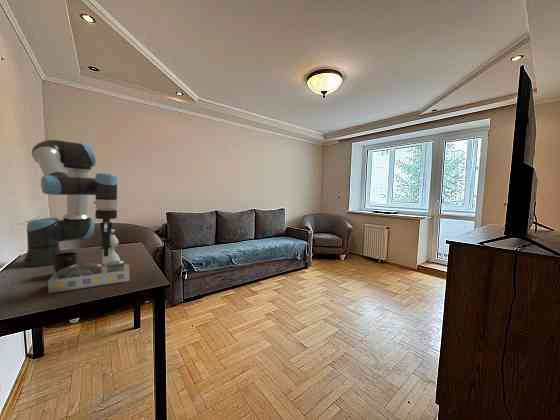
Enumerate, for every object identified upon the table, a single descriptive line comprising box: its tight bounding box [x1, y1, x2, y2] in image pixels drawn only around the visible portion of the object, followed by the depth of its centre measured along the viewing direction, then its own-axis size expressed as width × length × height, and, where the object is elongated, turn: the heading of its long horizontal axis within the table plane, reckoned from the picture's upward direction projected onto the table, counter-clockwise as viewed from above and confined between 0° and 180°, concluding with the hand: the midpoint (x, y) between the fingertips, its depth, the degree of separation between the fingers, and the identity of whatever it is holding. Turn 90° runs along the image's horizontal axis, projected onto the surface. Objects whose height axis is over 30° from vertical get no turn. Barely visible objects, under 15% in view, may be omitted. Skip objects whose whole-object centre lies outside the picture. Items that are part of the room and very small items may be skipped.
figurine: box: [102, 228, 121, 267], centre depth 119 cm, size 8×8×20 cm
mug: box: [52, 251, 78, 273], centre depth 107 cm, size 8×12×10 cm
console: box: [47, 263, 131, 294], centre depth 100 cm, size 10×26×6 cm, turn 124°
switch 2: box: [82, 262, 103, 272], centre depth 100 cm, size 5×6×2 cm
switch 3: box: [107, 260, 125, 269], centre depth 105 cm, size 5×6×2 cm
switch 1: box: [57, 263, 80, 277], centre depth 96 cm, size 5×6×2 cm
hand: (106, 263), depth 103 cm, fingers closed
